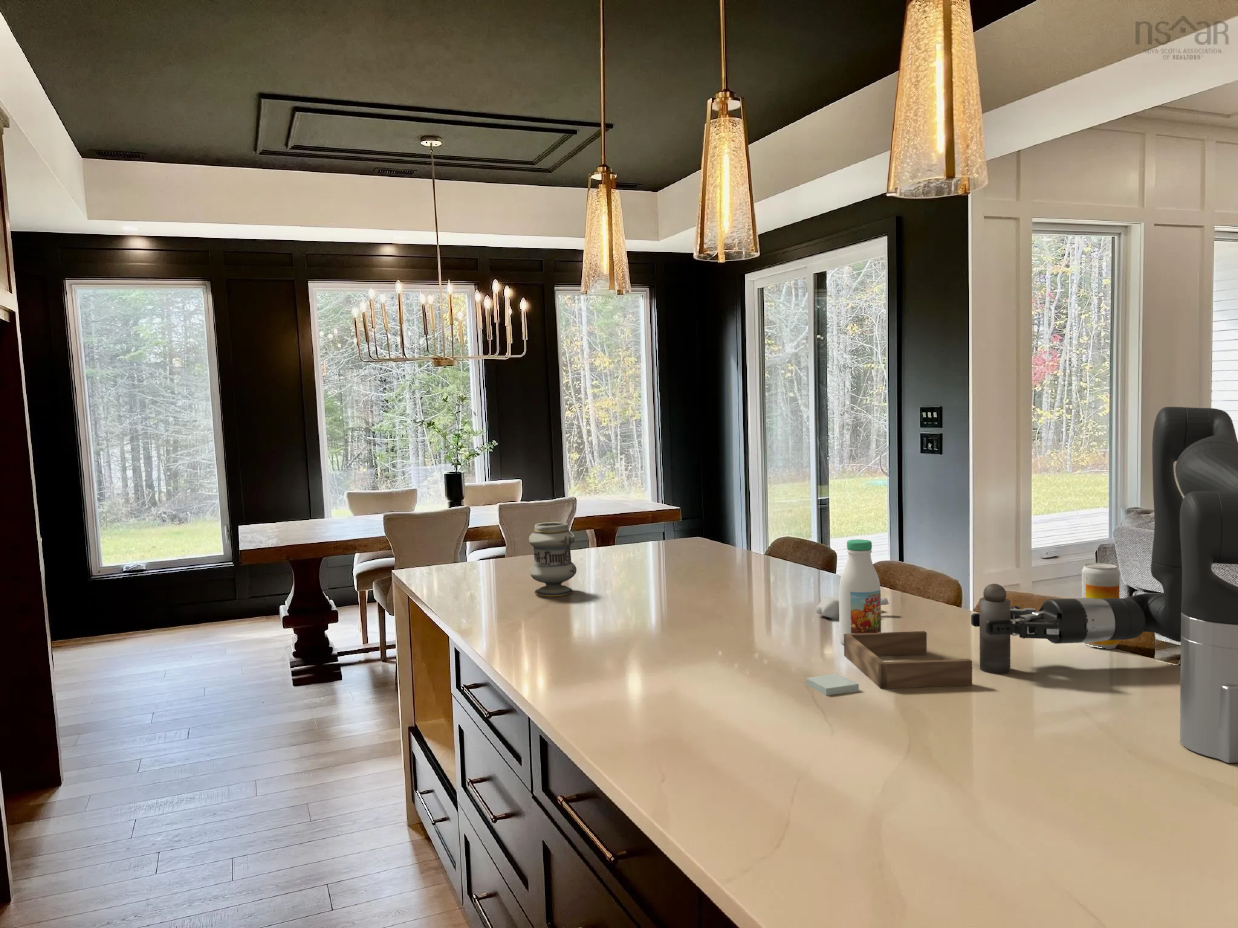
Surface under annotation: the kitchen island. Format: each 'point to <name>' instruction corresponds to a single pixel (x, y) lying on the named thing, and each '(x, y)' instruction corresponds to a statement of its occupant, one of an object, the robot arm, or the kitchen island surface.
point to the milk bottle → (859, 592)
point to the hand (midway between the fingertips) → (979, 623)
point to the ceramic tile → (832, 684)
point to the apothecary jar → (552, 558)
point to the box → (903, 673)
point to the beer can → (1101, 589)
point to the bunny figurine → (835, 607)
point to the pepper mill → (997, 645)
